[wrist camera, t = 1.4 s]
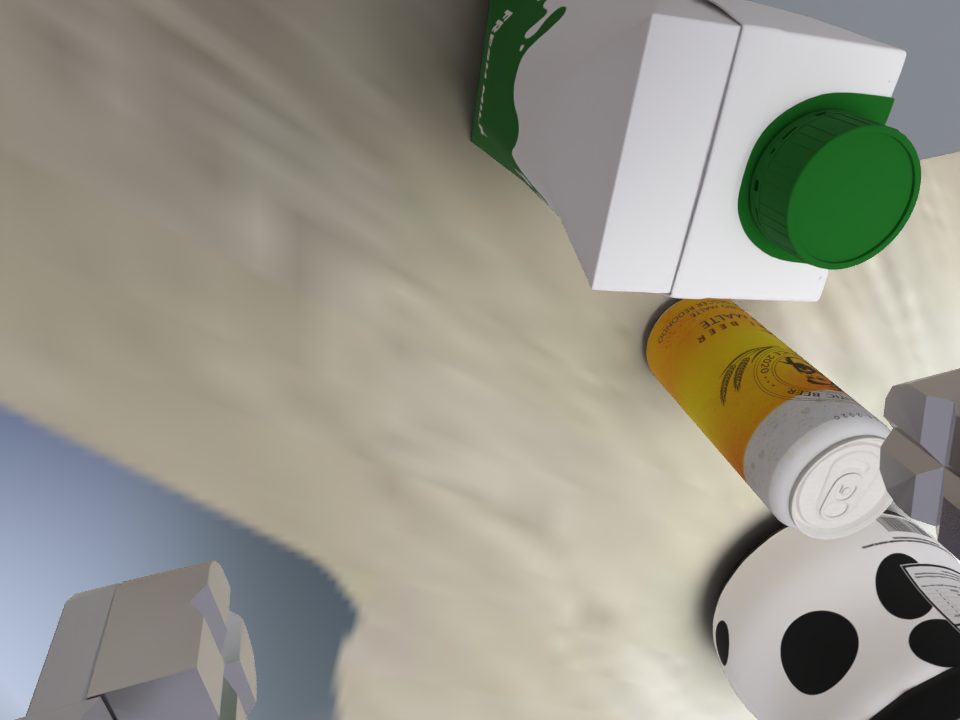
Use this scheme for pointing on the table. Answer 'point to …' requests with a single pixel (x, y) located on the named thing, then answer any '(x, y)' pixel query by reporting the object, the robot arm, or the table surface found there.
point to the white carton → (699, 141)
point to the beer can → (772, 417)
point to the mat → (907, 60)
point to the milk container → (844, 626)
